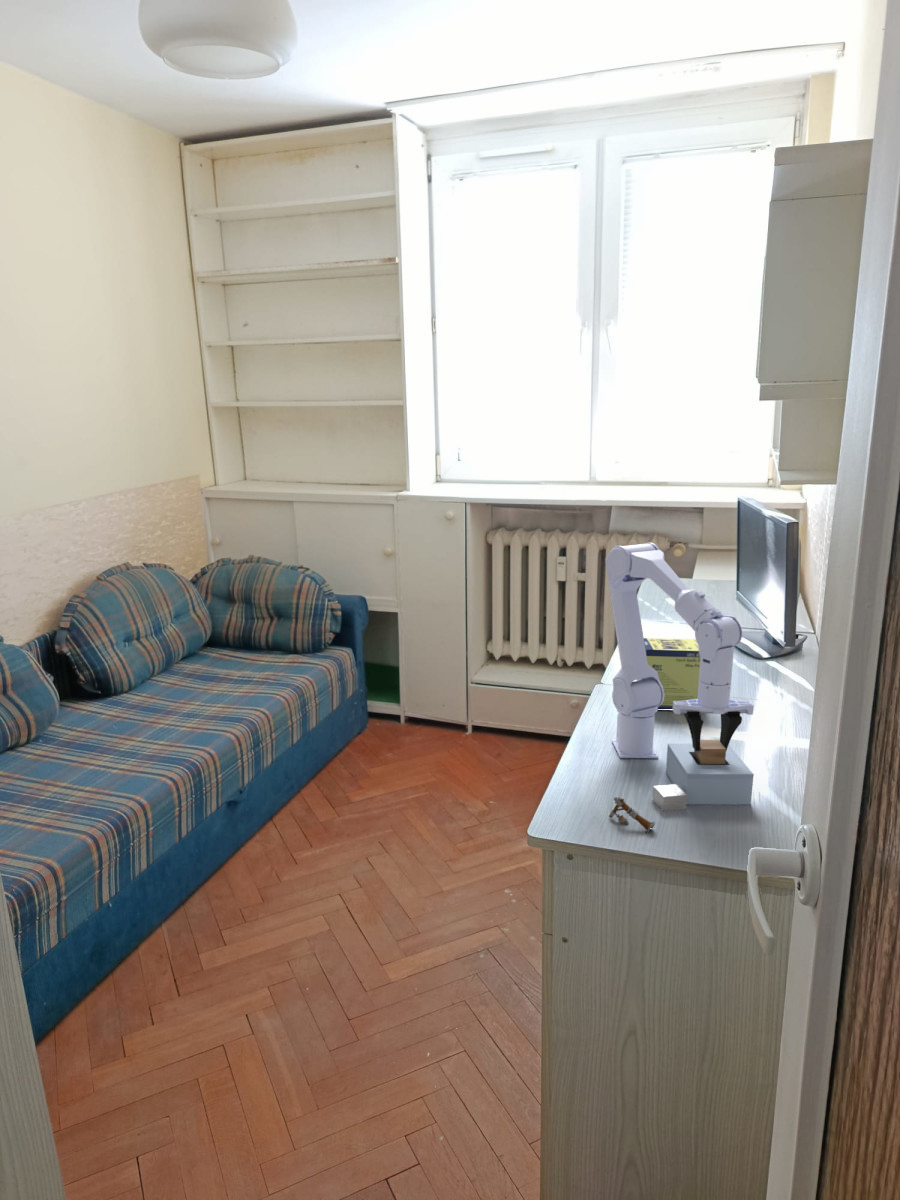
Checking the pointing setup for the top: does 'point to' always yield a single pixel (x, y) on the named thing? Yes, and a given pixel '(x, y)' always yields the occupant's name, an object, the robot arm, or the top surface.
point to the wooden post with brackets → (632, 813)
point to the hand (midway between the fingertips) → (709, 748)
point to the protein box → (675, 667)
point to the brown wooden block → (711, 752)
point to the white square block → (669, 797)
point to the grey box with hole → (709, 777)
